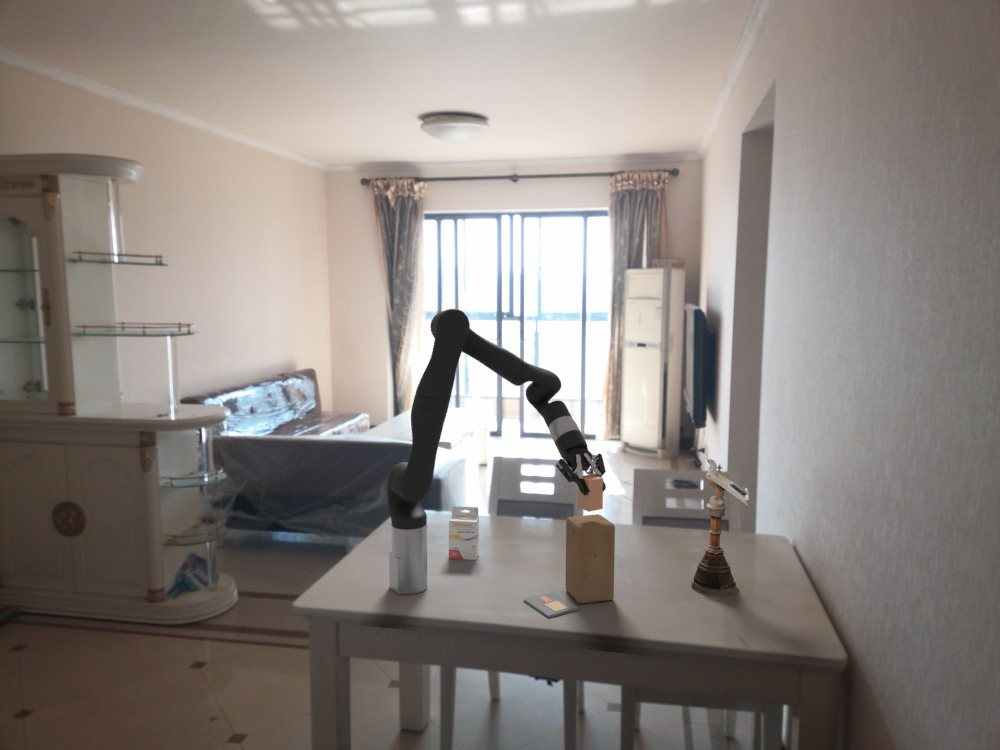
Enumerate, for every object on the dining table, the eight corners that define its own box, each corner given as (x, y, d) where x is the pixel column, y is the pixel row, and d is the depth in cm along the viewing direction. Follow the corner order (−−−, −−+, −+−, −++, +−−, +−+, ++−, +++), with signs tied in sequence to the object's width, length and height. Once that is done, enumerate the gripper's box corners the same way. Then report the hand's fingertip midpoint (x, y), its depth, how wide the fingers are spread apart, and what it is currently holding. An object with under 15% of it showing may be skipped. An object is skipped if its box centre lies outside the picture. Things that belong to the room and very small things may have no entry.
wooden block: (578, 605, 174) (579, 527, 172) (564, 589, 184) (565, 515, 182) (615, 601, 177) (616, 524, 175) (599, 585, 187) (600, 512, 185)
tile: (548, 617, 167) (548, 615, 167) (523, 601, 177) (523, 598, 177) (578, 609, 172) (578, 606, 172) (553, 593, 181) (553, 591, 181)
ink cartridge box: (448, 559, 206) (448, 510, 204) (451, 553, 211) (450, 505, 209) (477, 560, 205) (477, 511, 204) (479, 554, 210) (479, 506, 208)
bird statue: (756, 582, 189) (761, 455, 185) (756, 601, 177) (761, 466, 173) (693, 574, 195) (697, 450, 191) (688, 592, 182) (692, 460, 179)
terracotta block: (588, 511, 175) (588, 480, 174) (577, 507, 179) (578, 476, 178) (602, 508, 177) (603, 478, 176) (591, 504, 181) (592, 474, 180)
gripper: (550, 431, 179) (579, 488, 170) (595, 426, 186) (624, 480, 177) (539, 448, 184) (565, 504, 175) (582, 442, 191) (610, 496, 182)
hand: (595, 492), depth 176 cm, fingers closed on terracotta block, 4 cm apart
